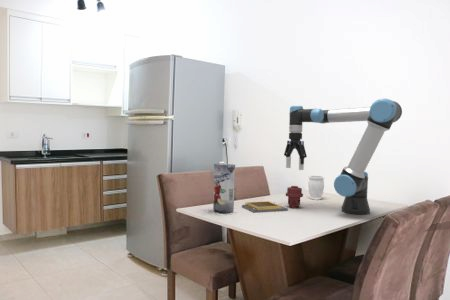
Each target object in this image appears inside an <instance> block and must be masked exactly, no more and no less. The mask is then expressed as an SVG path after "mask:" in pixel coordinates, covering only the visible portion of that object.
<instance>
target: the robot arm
mask: <svg viewBox="0 0 450 300" xmlns="http://www.w3.org/2000/svg"><path fill="white" fill-rule="evenodd" d="M402 113H403V109H402V106H401V104H399V102H396V101H394V100H392V99H390V98H380V99H377V100H375V101H374V102H372V103H371V105H370V106H365V107H364V106H363V107H352V108H351V107H350V108H338V109H337V108H335V109H321V108H306V109H305V108H304V107H303V105H291V106H290V108H289V113H288V114H289V122H288V123H289V127H288V132H289V133H288V139H289V140H287V141H286V142H287V143H286V147H285V150H284V153H283V154H284V155H283V156H284V157H285V168H286V169H291V168H292V167H291V164H292V163H291V160H292V156H291V155H292V153H293V151H294V150H296V152H297V154H298V156H299V157H298V171H304V170H305V169H304V167H305V158H307V157H308V156H307V152H306V149H305V144H304V143H305V141H304V140H302V139H303V123H314V124H315V123H317V124H329V123H347V122H348V123H351V122H367V127H366V128H365V131H364V133H363V135H362V136H361V139H360V141H359V143H358V144H357V146H356V148H355V151H354V153H353V154H352V157H351V159H350V161H349V163H348V165H347V166H344V167H343V168H342V170H341V172H340V174H339V175H337V177H335V178H334V182H333V187H334V190H335V192H336V193H337V194H338V195H339V196H341V197H344V200H343V202H342V205H341V208H340V211H342V212H343V213H346V214H353V215H369V214H370V213H371V208H370V206H369V205H370V204H369V201H368V184H369V182H368V181H369V173H368V172H367V171H366V169H367V167H368V166H369V163H370V161H371V160H372V157H373V156H374V153H375V151H376V150H377V148H378V146H379V143H380V141H381V140H382V138H383V136H384V135H385V132H387V131H389V130H390V129H391V127H392V125H393V124H394V123H396V122H398V121H399V119H400V118H401V117H402V115H403V114H402Z"/></svg>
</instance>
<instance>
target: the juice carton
mask: <svg viewBox="0 0 450 300" xmlns="http://www.w3.org/2000/svg"><path fill="white" fill-rule="evenodd" d="M213 169H214V170H213V171H214V172H213V205H212V206H213V209H212V210H213V211H214V212H216V213H221V214H229V213H234V210H235V209H234V208H235V174H236V173H235V172H236V164H231V163H230V164H228V163H226V162H225V161H219V162H218V163H214V164H213Z"/></svg>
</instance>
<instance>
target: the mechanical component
mask: <svg viewBox="0 0 450 300" xmlns="http://www.w3.org/2000/svg"><path fill="white" fill-rule="evenodd" d="M285 196H286V197H288V198H287V205H288V207H290V208H292V209H296V208H299V207H300V206H301V198H303V197H304V193H303V190H302V188H301V187H299V186H297V185H291V186H288V187H287V188H286V192H285Z"/></svg>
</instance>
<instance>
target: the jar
mask: <svg viewBox="0 0 450 300" xmlns="http://www.w3.org/2000/svg"><path fill="white" fill-rule="evenodd" d="M324 179H325V177H324V176H321V175H309V176H308V183H307V188H308V194H309V199H310V200H314V201H315V200H316V201H317V200H320V199H321V200H322V199H323V197H322V196H323V194H324V189H325V182H324V181H325V180H324Z"/></svg>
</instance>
